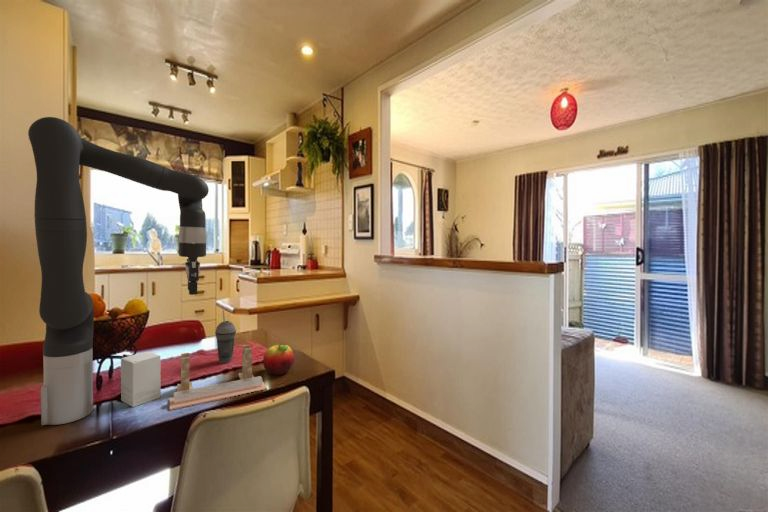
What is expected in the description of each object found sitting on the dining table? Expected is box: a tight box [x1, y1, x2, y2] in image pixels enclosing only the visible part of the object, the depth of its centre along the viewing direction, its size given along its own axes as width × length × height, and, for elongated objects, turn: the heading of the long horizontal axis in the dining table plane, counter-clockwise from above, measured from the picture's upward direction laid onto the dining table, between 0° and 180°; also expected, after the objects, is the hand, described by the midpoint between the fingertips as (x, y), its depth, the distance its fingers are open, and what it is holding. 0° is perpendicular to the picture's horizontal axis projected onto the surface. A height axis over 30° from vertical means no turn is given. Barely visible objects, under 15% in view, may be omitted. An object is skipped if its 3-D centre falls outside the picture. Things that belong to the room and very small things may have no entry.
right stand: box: [238, 344, 255, 380], centre depth 111 cm, size 4×6×11 cm, turn 33°
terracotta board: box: [169, 380, 268, 411], centre depth 100 cm, size 26×7×1 cm, turn 123°
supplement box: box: [120, 351, 162, 408], centre depth 96 cm, size 7×7×13 cm
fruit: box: [262, 343, 295, 376], centre depth 118 cm, size 11×11×10 cm
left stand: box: [176, 352, 194, 392], centre depth 102 cm, size 4×6×11 cm, turn 33°
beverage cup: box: [214, 309, 237, 364], centre depth 126 cm, size 7×7×20 cm
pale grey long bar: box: [173, 375, 263, 404], centre depth 100 cm, size 24×2×2 cm, turn 123°
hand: (192, 292), depth 105 cm, fingers open, 8 cm apart
